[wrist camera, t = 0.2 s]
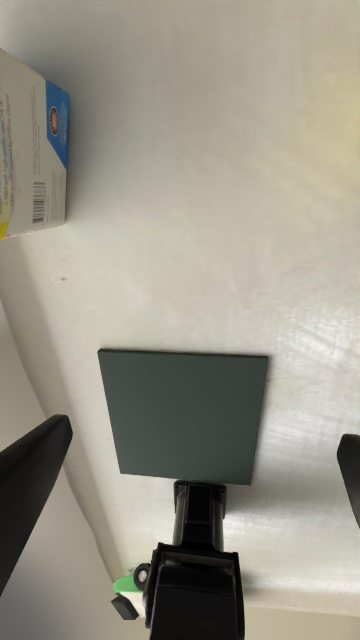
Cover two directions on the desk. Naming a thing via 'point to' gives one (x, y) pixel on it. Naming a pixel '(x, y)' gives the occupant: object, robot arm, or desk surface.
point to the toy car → (131, 593)
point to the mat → (184, 413)
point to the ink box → (31, 150)
